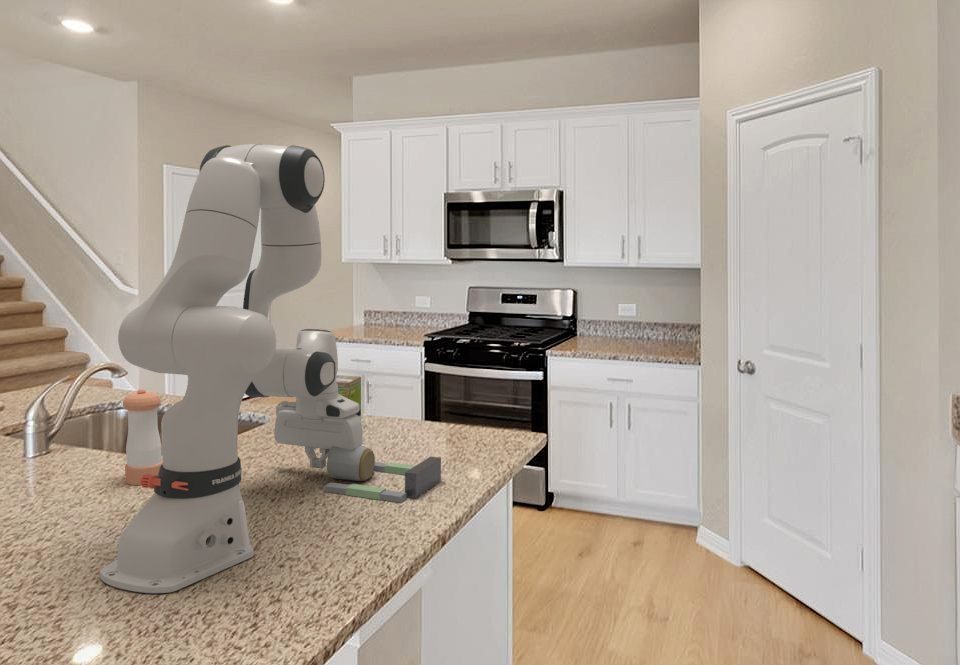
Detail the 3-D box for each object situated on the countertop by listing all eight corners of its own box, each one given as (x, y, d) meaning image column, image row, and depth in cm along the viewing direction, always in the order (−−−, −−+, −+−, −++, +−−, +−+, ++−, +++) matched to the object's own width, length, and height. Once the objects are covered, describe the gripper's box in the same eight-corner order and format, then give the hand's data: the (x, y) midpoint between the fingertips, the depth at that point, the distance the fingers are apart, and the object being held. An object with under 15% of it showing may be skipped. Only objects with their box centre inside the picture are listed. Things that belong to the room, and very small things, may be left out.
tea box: (295, 433, 185) (294, 378, 184) (310, 425, 195) (309, 372, 194) (349, 436, 183) (349, 381, 181) (362, 427, 193) (361, 374, 191)
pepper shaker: (149, 486, 141) (145, 393, 139) (117, 483, 143) (113, 391, 141) (171, 475, 148) (168, 387, 146) (141, 473, 150) (137, 385, 148)
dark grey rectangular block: (416, 498, 136) (416, 473, 135) (405, 497, 137) (405, 472, 136) (440, 480, 147) (441, 457, 147) (430, 479, 148) (430, 456, 148)
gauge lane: (400, 503, 134) (400, 495, 133) (324, 491, 139) (324, 484, 139) (439, 475, 151) (439, 468, 151) (370, 466, 157) (370, 459, 157)
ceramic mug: (361, 486, 143) (362, 449, 142) (325, 482, 145) (325, 446, 145) (382, 472, 153) (383, 438, 153) (348, 469, 155) (349, 435, 155)
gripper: (267, 402, 150) (268, 465, 151) (350, 410, 143) (351, 476, 144) (285, 397, 156) (286, 458, 157) (366, 405, 149) (366, 468, 150)
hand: (317, 467), depth 151 cm, fingers closed
